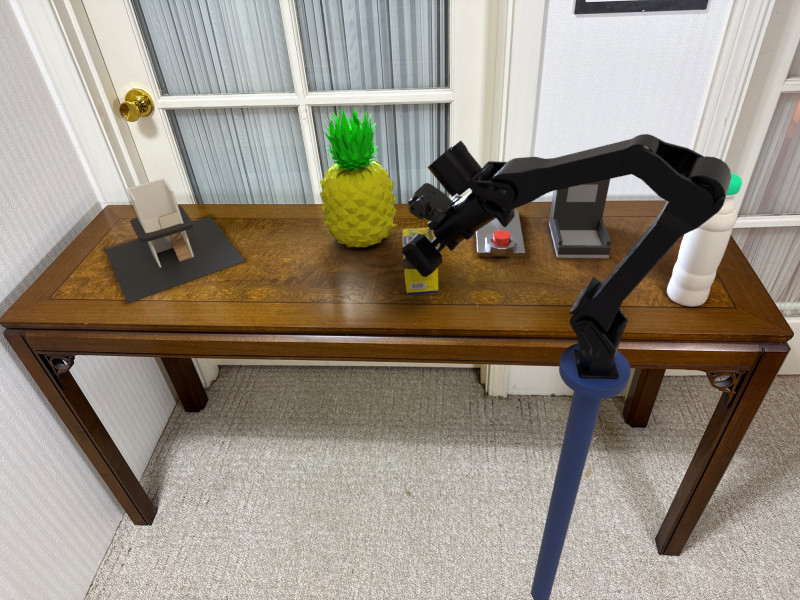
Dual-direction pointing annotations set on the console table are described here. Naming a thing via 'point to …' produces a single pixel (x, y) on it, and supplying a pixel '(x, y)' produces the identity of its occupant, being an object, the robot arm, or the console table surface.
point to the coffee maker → (580, 221)
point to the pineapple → (356, 185)
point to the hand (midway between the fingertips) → (413, 254)
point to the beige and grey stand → (167, 245)
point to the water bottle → (703, 253)
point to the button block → (492, 250)
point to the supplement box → (412, 276)
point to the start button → (501, 238)
